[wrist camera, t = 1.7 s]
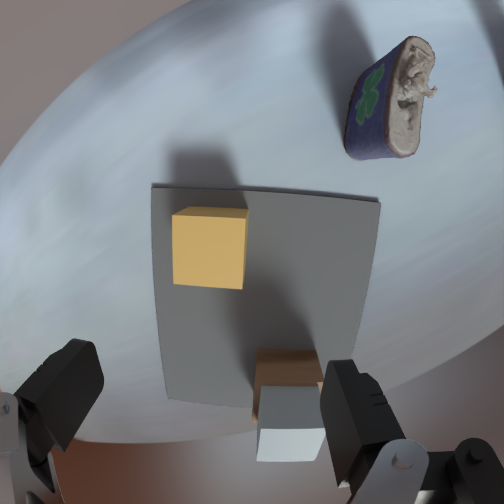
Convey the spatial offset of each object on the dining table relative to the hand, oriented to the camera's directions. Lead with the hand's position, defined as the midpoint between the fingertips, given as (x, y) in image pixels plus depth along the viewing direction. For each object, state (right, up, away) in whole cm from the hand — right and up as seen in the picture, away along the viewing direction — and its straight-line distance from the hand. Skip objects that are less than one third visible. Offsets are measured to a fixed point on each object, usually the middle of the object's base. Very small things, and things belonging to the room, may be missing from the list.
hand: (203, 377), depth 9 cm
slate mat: (+2, -2, +18) cm, 19 cm away
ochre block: (-1, +5, +16) cm, 17 cm away
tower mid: (+5, -10, +15) cm, 18 cm away
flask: (+11, +16, +13) cm, 24 cm away
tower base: (+5, -8, +19) cm, 22 cm away
